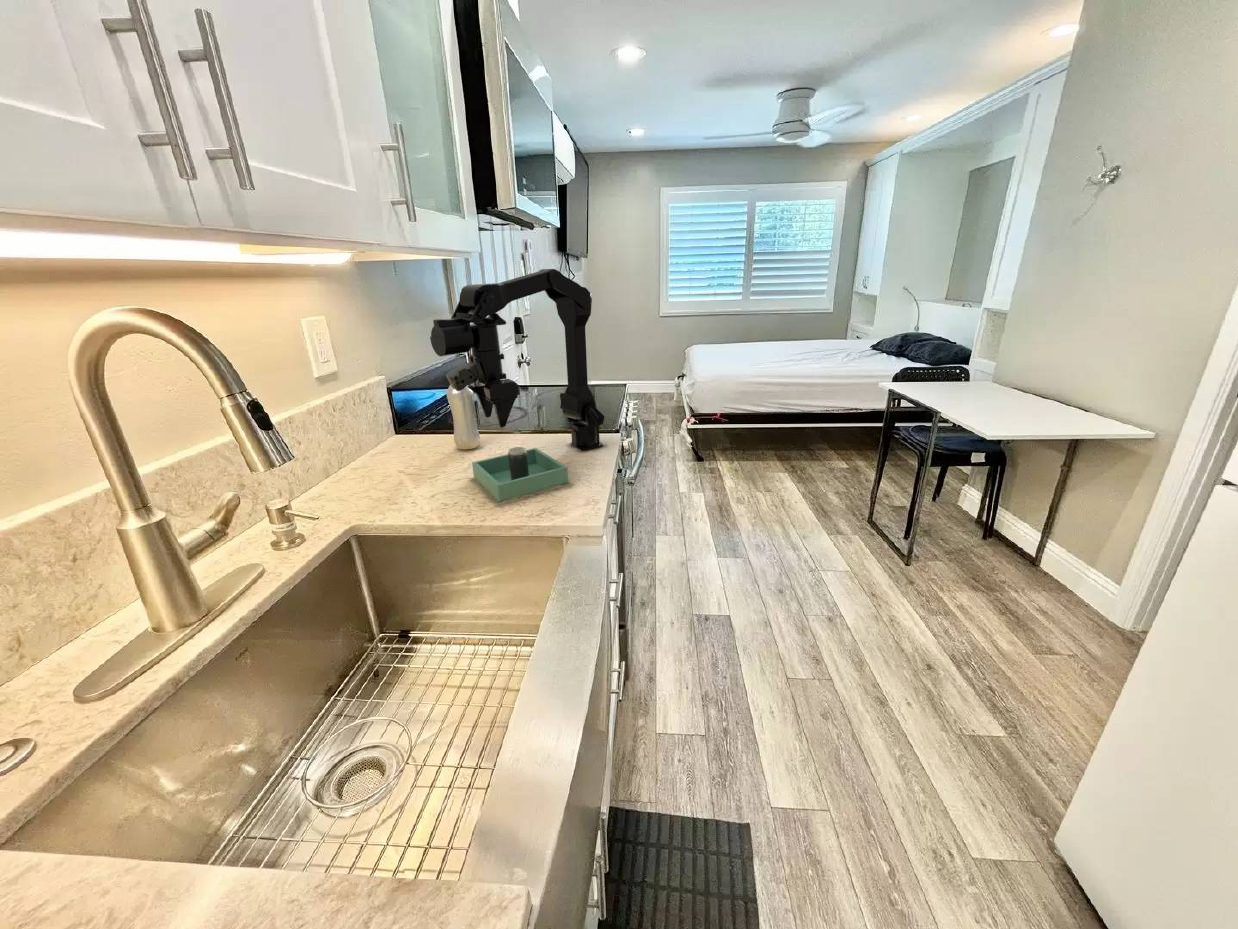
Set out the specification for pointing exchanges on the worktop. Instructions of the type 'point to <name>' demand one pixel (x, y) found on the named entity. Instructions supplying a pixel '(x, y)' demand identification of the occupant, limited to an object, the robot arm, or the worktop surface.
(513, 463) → the salt shaker
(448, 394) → the silver bottle
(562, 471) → the bin
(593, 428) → the robot arm
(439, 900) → the worktop surface
